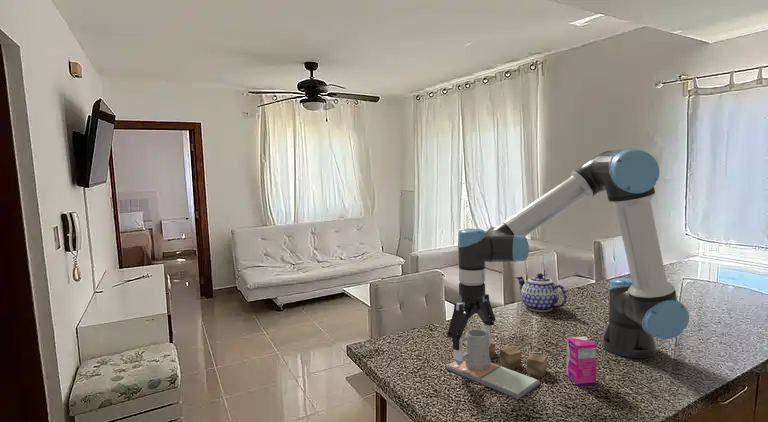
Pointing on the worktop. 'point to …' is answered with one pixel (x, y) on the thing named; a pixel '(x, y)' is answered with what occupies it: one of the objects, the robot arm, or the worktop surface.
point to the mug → (476, 350)
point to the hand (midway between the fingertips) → (472, 352)
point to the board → (497, 378)
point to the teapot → (540, 293)
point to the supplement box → (581, 360)
